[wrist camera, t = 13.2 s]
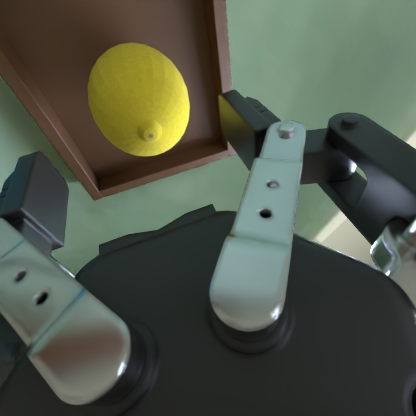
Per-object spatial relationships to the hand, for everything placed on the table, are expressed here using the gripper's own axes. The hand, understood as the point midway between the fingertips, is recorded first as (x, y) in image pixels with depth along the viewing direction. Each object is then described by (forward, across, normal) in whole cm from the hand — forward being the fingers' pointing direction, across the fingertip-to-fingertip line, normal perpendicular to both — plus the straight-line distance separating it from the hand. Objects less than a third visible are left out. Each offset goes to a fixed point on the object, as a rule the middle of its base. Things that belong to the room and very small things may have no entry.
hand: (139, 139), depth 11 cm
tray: (+9, -1, 0) cm, 9 cm away
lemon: (+9, -1, 0) cm, 9 cm away
